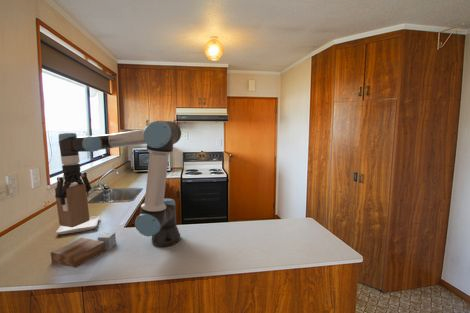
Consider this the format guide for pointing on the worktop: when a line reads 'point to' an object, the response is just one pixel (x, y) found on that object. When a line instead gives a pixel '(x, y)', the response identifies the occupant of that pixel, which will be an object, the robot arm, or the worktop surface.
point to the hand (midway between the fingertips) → (76, 207)
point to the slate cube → (108, 239)
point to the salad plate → (80, 226)
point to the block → (74, 206)
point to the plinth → (78, 252)
